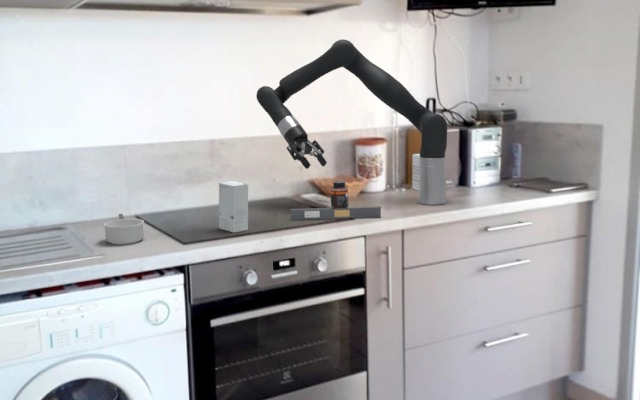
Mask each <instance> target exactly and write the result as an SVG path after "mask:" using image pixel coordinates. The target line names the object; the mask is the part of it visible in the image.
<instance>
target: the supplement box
mask: <svg viewBox="0 0 640 400" xmlns="http://www.w3.org/2000/svg"><path fill="white" fill-rule="evenodd" d="M411 169H412V178H411V180H412V181H411V182H412V183H411V184H412V190H415V191H418V192H419V171H420V153H412V168H411Z"/></svg>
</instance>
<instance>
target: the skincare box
mask: <svg viewBox="0 0 640 400" xmlns="http://www.w3.org/2000/svg"><path fill="white" fill-rule="evenodd" d="M218 228H219V229H220V230H224V231H227V232H231V233H240V232H245V230H246V231H248V230H249V184H247V183H244V182H240V181H235V180H229V181H220V182H218Z"/></svg>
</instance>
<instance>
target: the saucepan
mask: <svg viewBox="0 0 640 400" xmlns="http://www.w3.org/2000/svg"><path fill="white" fill-rule="evenodd" d="M118 218H119V219H114V220H110V221H106V222H104V223H103V224H102V225H103V226H104V233H105V235H104V236H105V242H108V243H110V244H112V245H118V246H120V245H121V246H122V245H131V244H135V243H138V242H140V241H141V240H143V239H144V236H145V234H144V223H145V220H144V219H139V218H125V217H124V215H123V213H118Z"/></svg>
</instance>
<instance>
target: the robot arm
mask: <svg viewBox="0 0 640 400" xmlns="http://www.w3.org/2000/svg"><path fill="white" fill-rule="evenodd" d="M341 68H343V69H345V70H347V71H348V72H349V73H351V74H353V75H354V76H355V77H356V78H357V79H359V81H360V82H361V83H362V84H363V85H364V86H365V87H366V89H367V90H369V92H370V93H372V95H374V96H375V97H376V98H378V100H380V101H381V102H382V103H383V104H385V105H386V106H388V107H389V108H390V109H392V110H393V111H394V112H397V113H398V114H400V115H402V116H403V117H404V118H405V119H406V120H408V121H409V122H410V123H411V124H412V125H413V126H414V127H415V128H416V129H417V130H418V131H419V132H420V134H421V146H420V148H419V154H420V171H419V191H418V203H419V204H421V205H426V206H427V205H429V206H437V205H438V206H439V205H443V204H446V203H447V193H446V192H447V178H446V176H445V175H446V173H445V172H446V171H445V169H446V151H447V147H448V146H447V145H448V144H447V142H448V123H447V120H446V118H445V117H444V116H443V115H441V114H438V113H435V112H433V111H431V110H430V109H428V108H427V107H425V106H424V105H423V104H421V103H420V102H419V101H418V100H417V99H415V97H414V96H413V95H412V93H410V91H409V90H408V89H407V88H406V87H405V86H404V84H402V83H401V82H400V81H398V80H397V79H396V78H395V77H394V76H393V75H391V74H390V73H388V72H387V71H385V70H384V69H383V68H382V67H380V66H378V65H377V64H374V63H373V62H372V61H370V59H368V58H367V57H366V56H365V55H364V54H363V53H362V52H360V50H359V49H357V47H356V46H355V45H354V44H353V42H351V41H350V40H349V39H348V40H347V39H339V40H335V42H334V43H332V45H331V47H329V49H328V50H326V51H325V52H323V54H322V55H320V56H318V57H317V58H315V59H314V60H313V61H310V62H309V63H307V64H305V65H303V66H301V67H299V68H297V69H296V70H294V71H292V72H291V73H289V74H287V75H285V76H284V77H283V78H281V79H280V80H279V83H278V85H279V86H277V87H276V88H275V89H273V88H272V87H270V86H267V85H264V86H261V87H259V88H258V89H257V91H256V100H257V102H258V103H259V105H260V106H261V107H262V109H263V110H264V111H265V112H266V113H267V114H268V116H269V118H271V120H272V122H273V123H274V125H275V126H276V127H277V129H278V131H279V132H280V134H281V136H282V137H283V139H284V140H285V141H286V143H287V144H288V145H287V146H286V150H287V151H288V153H289V154H290V156H291V158H292V159H293V160H294V161H298V162H300V163H301V165H302V166H303V167H304V168H305V169H309V168H310V167H311V163H310V161H309V160H308V159H307V157H306V156H305V155H309V156H312V157H314V158H315V159H316V160H317V162H319V164H320V165H321V166H322V167H325V166H326V165H327V163H328V162H327V160H326V159H325V157H324V156H323V155H324V153H325V150H324V149H323V147H322V146H321V145H320V143H318V141H317V140H316V139H315V140H313V141H312V142H311V141H310V140H309V139H308V135H309V134H308V133H307V131H306V130H305V129H304V128H303V126H302V125H301V123H300V122H299V121H298V120H297V118H296V117H295V116H293V113H292V112H291V111H290V110H289V109H288V107H287V106H286V105H285V103H286V102H287V101H288V100H289V99H290V98H291V97H292V96H293V95H295V94H297V93H299V92H300V91H302V90H303V89H305V88H306V87H308V86H309V85H311V84H312V83H314V82H315V81H317V80H319V79H320V78H322V77H323V76H325V75H326V74H329V73H330V72H333V71H335V70H338V69H341Z"/></svg>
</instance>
